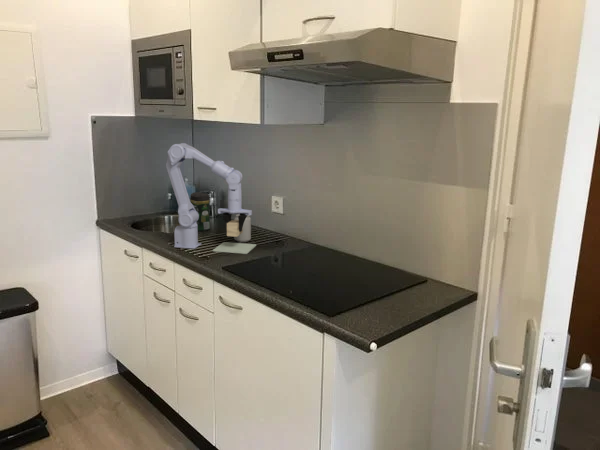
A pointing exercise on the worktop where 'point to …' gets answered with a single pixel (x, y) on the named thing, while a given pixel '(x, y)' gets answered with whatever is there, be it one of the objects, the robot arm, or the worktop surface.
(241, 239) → the can
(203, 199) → the coffee jar
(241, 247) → the rubber mat
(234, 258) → the worktop surface
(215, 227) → the worktop surface
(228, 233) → the birch block
